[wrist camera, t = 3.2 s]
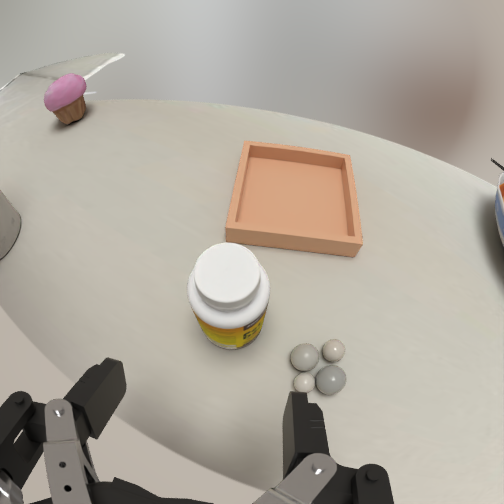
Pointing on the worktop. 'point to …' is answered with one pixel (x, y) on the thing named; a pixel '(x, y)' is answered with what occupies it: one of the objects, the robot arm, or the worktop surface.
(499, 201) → the ramen bowl
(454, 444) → the worktop surface
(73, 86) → the cupcake
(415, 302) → the worktop surface
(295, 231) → the terracotta dish
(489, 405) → the worktop surface
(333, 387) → the pebbles
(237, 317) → the supplement bottle
